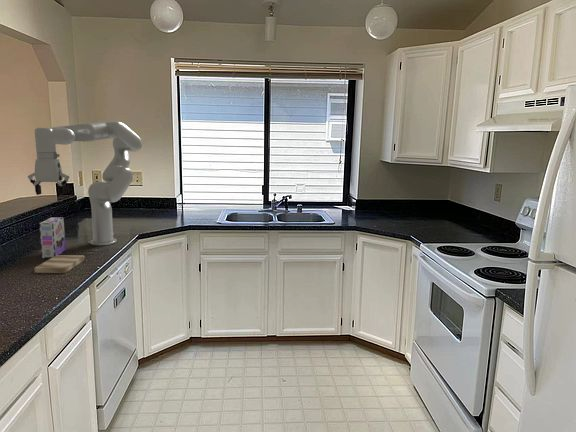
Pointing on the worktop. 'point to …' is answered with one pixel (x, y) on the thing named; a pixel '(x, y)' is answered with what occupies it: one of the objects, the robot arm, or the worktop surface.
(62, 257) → the cutting board
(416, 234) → the worktop surface
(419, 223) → the worktop surface
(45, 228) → the candy box
